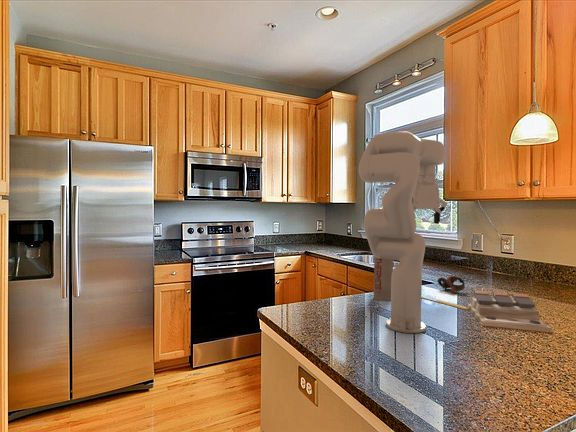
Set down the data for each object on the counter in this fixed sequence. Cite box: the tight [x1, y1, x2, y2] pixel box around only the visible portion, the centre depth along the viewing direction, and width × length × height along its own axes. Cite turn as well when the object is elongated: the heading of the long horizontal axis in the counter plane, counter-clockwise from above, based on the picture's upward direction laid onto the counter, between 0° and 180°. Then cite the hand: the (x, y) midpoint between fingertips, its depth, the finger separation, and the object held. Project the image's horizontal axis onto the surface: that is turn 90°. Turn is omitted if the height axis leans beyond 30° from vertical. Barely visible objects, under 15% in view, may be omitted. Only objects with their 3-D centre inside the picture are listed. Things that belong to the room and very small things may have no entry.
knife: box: [421, 295, 470, 311], centre depth 147 cm, size 1×32×5 cm
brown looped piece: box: [437, 275, 466, 294], centre depth 163 cm, size 12×10×8 cm
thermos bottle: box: [373, 255, 394, 302], centre depth 148 cm, size 8×8×28 cm
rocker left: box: [473, 289, 494, 304], centre depth 127 cm, size 8×5×2 cm, turn 163°
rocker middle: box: [492, 291, 514, 306], centre depth 125 cm, size 8×5×2 cm, turn 163°
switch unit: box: [467, 296, 553, 333], centre depth 123 cm, size 22×20×5 cm
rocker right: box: [511, 292, 536, 309], centre depth 123 cm, size 8×5×2 cm, turn 163°
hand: (424, 223), depth 134 cm, fingers open, 9 cm apart
